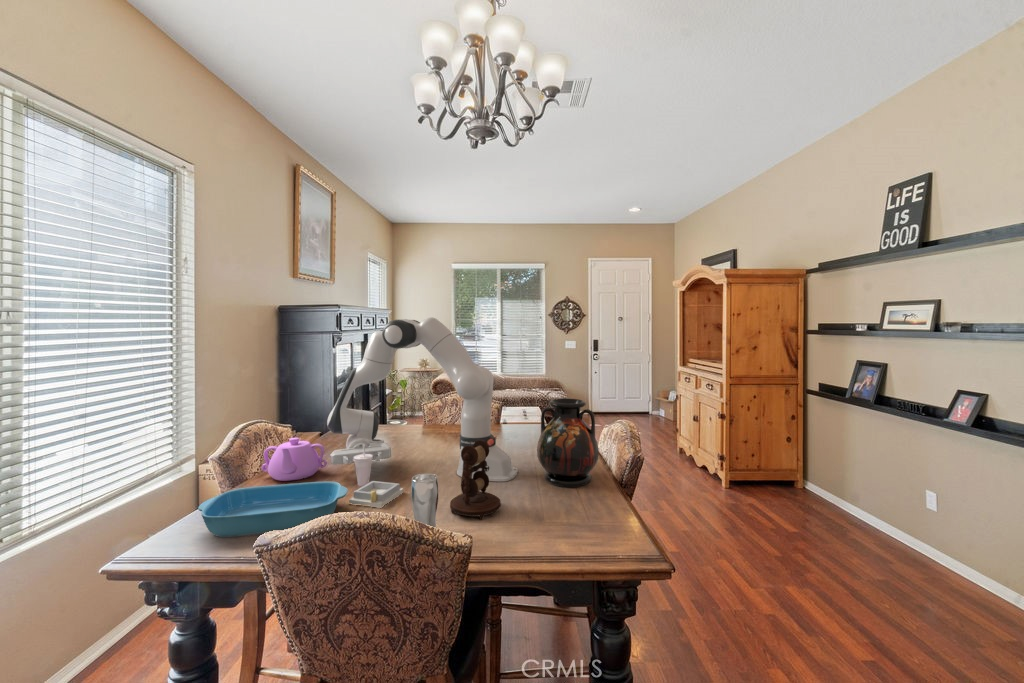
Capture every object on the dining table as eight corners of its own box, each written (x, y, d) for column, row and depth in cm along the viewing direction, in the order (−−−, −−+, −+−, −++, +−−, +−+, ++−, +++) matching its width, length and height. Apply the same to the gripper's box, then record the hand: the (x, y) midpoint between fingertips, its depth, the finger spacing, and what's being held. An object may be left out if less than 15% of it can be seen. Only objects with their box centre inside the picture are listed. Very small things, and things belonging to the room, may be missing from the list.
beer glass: (432, 542, 109) (432, 483, 108) (406, 540, 110) (406, 481, 110) (442, 530, 116) (442, 473, 115) (418, 527, 117) (417, 472, 117)
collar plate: (403, 492, 142) (403, 479, 142) (380, 508, 130) (380, 493, 129) (374, 489, 145) (373, 476, 145) (349, 504, 133) (348, 490, 133)
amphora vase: (530, 487, 147) (529, 404, 146) (544, 468, 167) (544, 395, 166) (594, 494, 140) (595, 407, 140) (601, 473, 161) (601, 397, 160)
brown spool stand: (467, 497, 138) (466, 434, 137) (509, 505, 132) (508, 439, 131) (440, 515, 125) (439, 446, 124) (485, 525, 118) (485, 452, 118)
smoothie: (362, 488, 146) (361, 447, 146) (349, 485, 149) (349, 444, 149) (377, 483, 151) (376, 443, 151) (364, 479, 155) (364, 440, 154)
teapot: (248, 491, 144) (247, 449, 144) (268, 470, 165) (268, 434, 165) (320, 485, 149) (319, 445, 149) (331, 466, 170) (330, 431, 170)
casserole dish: (350, 498, 138) (350, 476, 138) (344, 529, 116) (343, 503, 116) (216, 512, 128) (216, 488, 128) (182, 549, 106) (182, 520, 106)
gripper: (329, 445, 158) (330, 454, 146) (387, 439, 166) (393, 447, 154) (329, 462, 158) (330, 473, 146) (388, 455, 167) (393, 465, 154)
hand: (363, 460), depth 150 cm, fingers open, 8 cm apart
